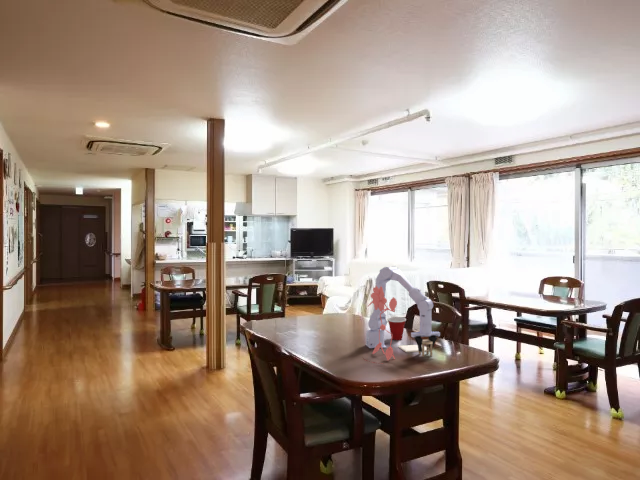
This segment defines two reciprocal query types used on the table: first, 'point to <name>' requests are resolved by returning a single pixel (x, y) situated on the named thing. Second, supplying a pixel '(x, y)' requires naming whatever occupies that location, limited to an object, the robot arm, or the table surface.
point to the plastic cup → (396, 327)
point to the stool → (427, 347)
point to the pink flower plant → (379, 303)
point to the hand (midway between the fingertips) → (425, 351)
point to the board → (411, 348)
